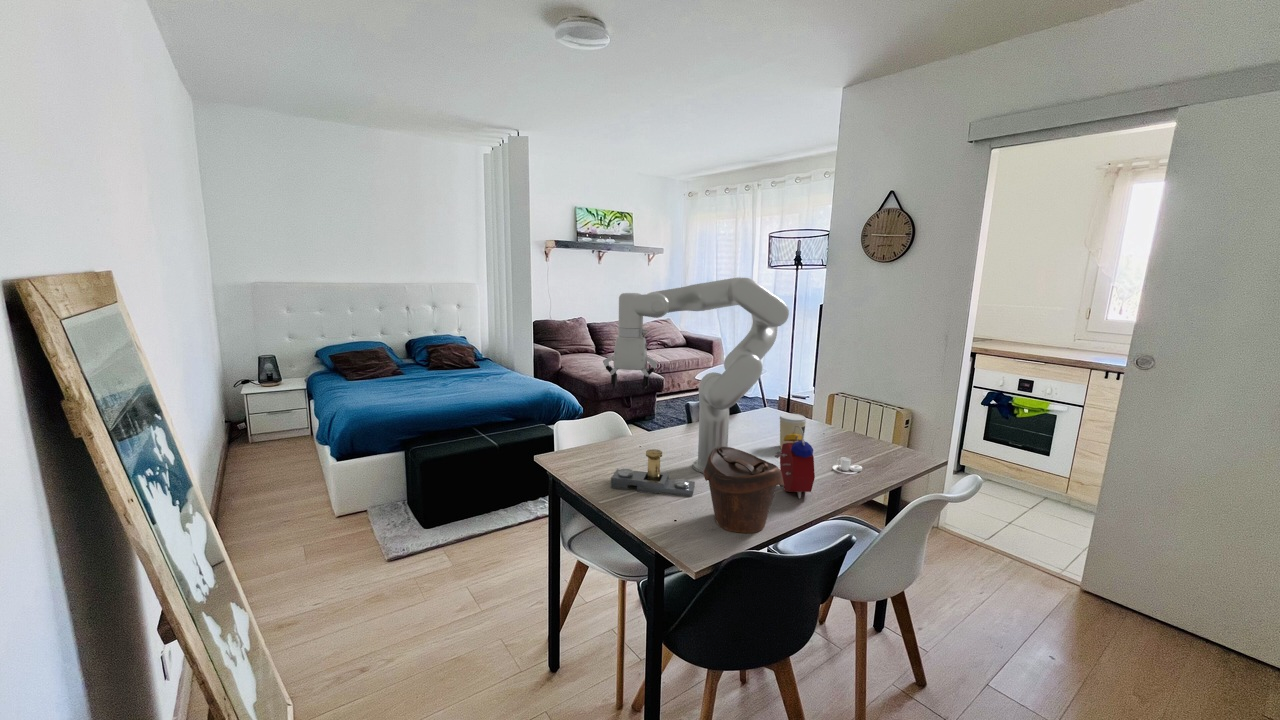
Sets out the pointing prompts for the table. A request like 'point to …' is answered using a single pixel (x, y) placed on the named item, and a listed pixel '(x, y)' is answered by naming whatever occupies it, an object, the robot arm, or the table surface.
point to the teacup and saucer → (847, 466)
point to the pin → (654, 464)
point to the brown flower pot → (741, 488)
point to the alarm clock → (797, 464)
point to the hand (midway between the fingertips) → (629, 387)
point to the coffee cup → (791, 426)
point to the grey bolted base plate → (651, 483)
